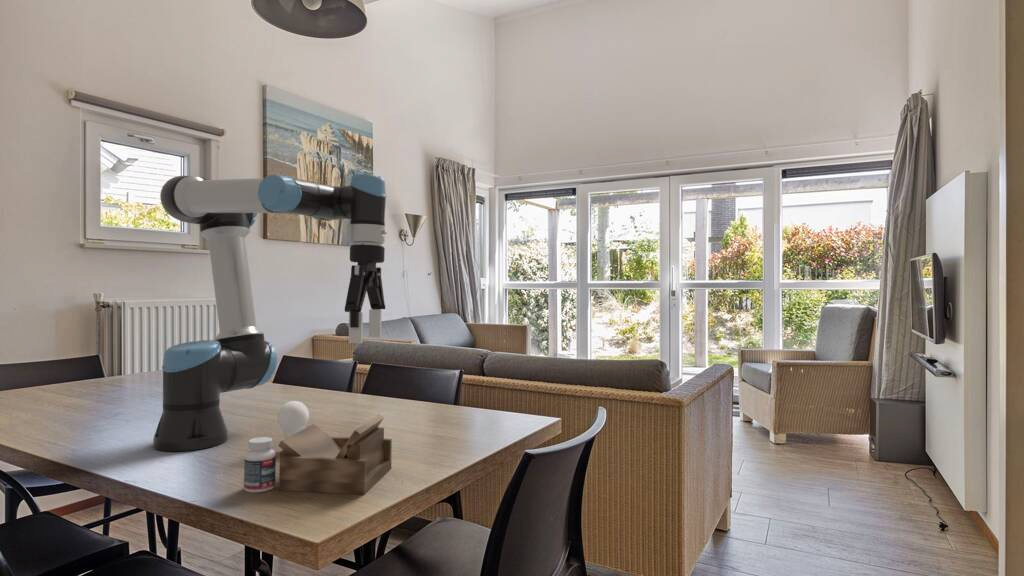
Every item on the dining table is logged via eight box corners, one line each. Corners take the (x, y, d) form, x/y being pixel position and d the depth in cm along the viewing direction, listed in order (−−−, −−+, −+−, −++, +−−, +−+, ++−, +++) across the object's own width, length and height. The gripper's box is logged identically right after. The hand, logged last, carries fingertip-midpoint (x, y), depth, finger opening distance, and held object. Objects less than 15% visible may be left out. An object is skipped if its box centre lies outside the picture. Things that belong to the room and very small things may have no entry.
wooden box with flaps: (274, 489, 104) (275, 428, 104) (312, 464, 119) (312, 410, 119) (364, 494, 103) (365, 431, 103) (391, 468, 118) (391, 413, 117)
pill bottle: (263, 494, 102) (264, 444, 102) (237, 492, 103) (238, 442, 103) (281, 484, 107) (281, 437, 107) (256, 482, 108) (256, 435, 108)
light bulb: (282, 446, 133) (282, 398, 133) (311, 445, 133) (312, 398, 133) (272, 454, 126) (273, 404, 126) (303, 454, 127) (304, 404, 127)
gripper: (366, 240, 116) (364, 346, 116) (398, 248, 141) (397, 335, 141) (329, 240, 116) (327, 345, 116) (368, 248, 141) (366, 334, 141)
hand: (365, 340), depth 129 cm, fingers open, 13 cm apart
